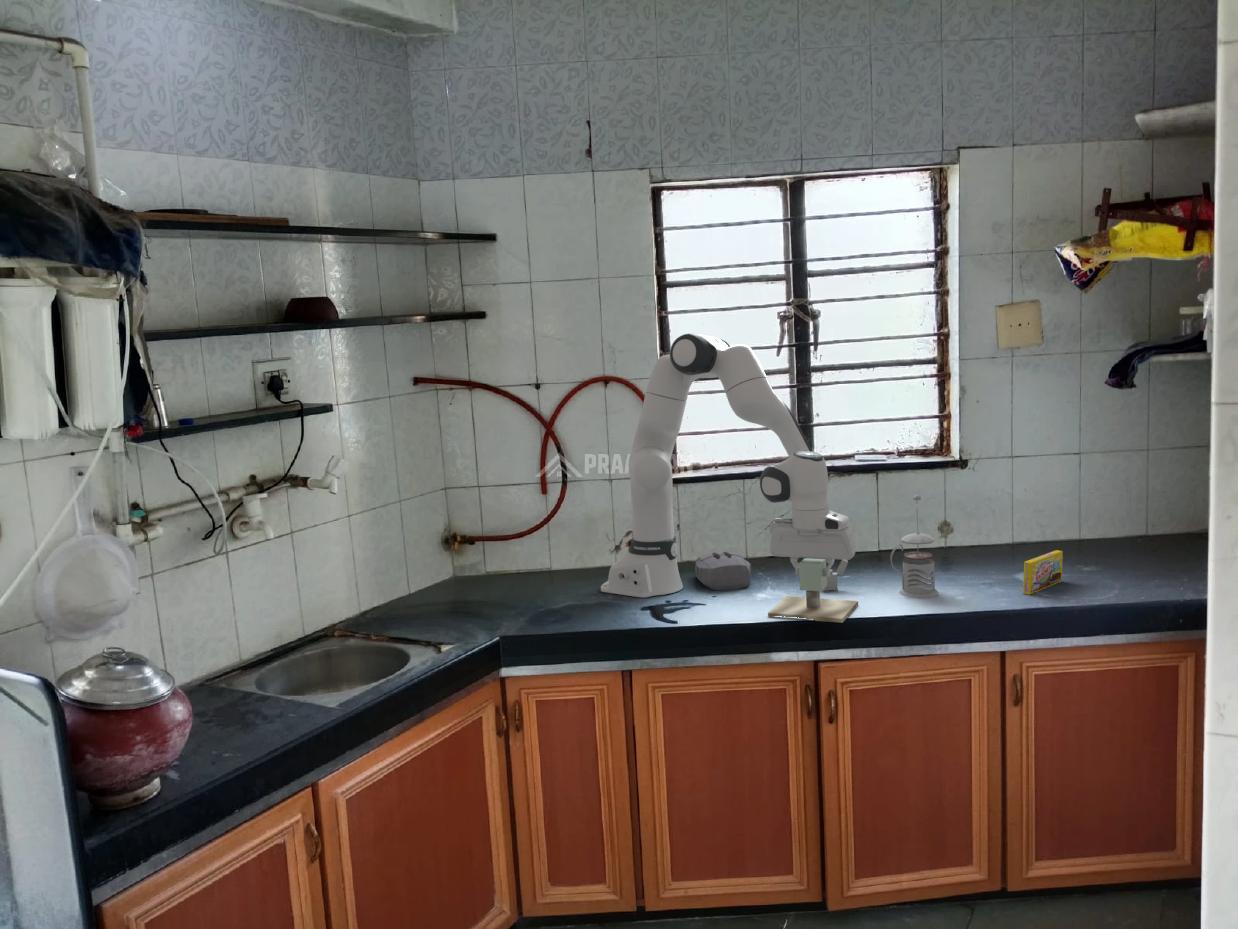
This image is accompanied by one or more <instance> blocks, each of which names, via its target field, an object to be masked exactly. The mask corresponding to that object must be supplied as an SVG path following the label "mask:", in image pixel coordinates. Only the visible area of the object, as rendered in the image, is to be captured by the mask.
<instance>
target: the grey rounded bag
mask: <svg viewBox="0 0 1238 929" xmlns="http://www.w3.org/2000/svg"><path fill="white" fill-rule="evenodd" d="M694 566H695V567H694V570H695V575H696V577H697V579H698V580H699V581H700V583H702V585H704V586H705V588H709V589H710V590H716V591H726V590H727V591H730V590H737V589H738V590H739V589H742V588H743V589H744V588H745V587H748V585H749V583H750V582H751V575H753V569H752V564H751V563H750V562H749V561H748V560H746V559H745V558H743V556H742V555H740V554H738V553H735V552H730V551H715V552H709V553H705V554H703V555H700V556H699V557H698V558H697V559H696V561H695V564H694Z"/></svg>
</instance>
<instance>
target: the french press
mask: <svg viewBox="0 0 1238 929" xmlns="http://www.w3.org/2000/svg"><path fill="white" fill-rule="evenodd" d="M912 500H913V501H916V503H918V501H921V500H922V499H921V496H920V495H919V494H915V495H914V496H913V497H912ZM918 520H919V518H918V509H916V532H913V533H908V534H906V535H905V536H903V537H901V539H900V541H901V542H902V543H903V544H908V545H916V546H917V547H916V548H917V550H919V545H928V544H933V543H934V541H935V538H934V537H933V536H931V535H929V534H925V533H923V532H919V524H918V523H919V522H918ZM903 544H898V545H895V547H894V548H892V550H891V553H890V559H889V560H890V563H891V567H892V569H893V570H894V571H895V572H896V573H898V574H899V575H901V587H902V588H900V590H899V591H898V594H900V595H901V596H904V597H906V596H907V597H906V598H913V599H926V598H933V597H932V596H934V597H936V596H938V595H939V593H940V592H939V590H937V589H936V588H935V587H936V586H935V585H936V583H935V574H936V573H935V560H934V559H932V558H933V556H934V555H933V554H932V553H930V552H925V551H911V552H910V551H909V552H905V553H904V554H903V557H904V558H903V559H902V571H901V570H898V569H897V568H896V567H895V566H894V564H893V556H894V553H895V551H897V549H899V548H900V549H901V552H903V551H904V546H903ZM913 562H915V563H918V564H915V563H913ZM911 563H912V564H911ZM928 573H929V574H928ZM930 573H931V574H930Z"/></svg>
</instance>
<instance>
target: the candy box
mask: <svg viewBox="0 0 1238 929" xmlns="http://www.w3.org/2000/svg"><path fill="white" fill-rule="evenodd" d="M1063 553H1064V551H1063V550H1058V549H1056V550H1053V551H1050V552H1047V553H1045V554H1041V555H1040V556H1037V557H1034V558H1031V559H1029V560H1026V561H1024V565H1023V585H1022V586H1023V588H1022V589H1023V590H1022V595H1027V596H1030V595H1033V594H1035V593H1037V592H1040V591H1042V589H1043V590H1045V589H1047V587H1048V588H1049V586H1050V587H1052V586H1054V584H1055V585H1056V583H1057V584H1059V583H1062V582H1061V581H1063V560H1064V555H1063ZM1058 582H1059V583H1058ZM1051 585H1052V586H1051ZM1034 592H1035V593H1034Z"/></svg>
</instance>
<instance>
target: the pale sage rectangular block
mask: <svg viewBox="0 0 1238 929" xmlns="http://www.w3.org/2000/svg"><path fill="white" fill-rule="evenodd" d="M798 564H799V575H798V576H799V578H798V579H799V591H806V590H807V591H820V592H823V591H822V590H823V589H824V588H825V587H826V586H827V577H823V572H822V570H823V569H824V568H827V560H826V559H822V558H802V560H801V561H800V562H798Z"/></svg>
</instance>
